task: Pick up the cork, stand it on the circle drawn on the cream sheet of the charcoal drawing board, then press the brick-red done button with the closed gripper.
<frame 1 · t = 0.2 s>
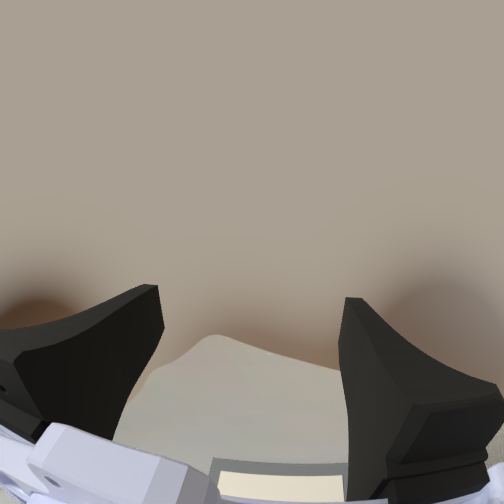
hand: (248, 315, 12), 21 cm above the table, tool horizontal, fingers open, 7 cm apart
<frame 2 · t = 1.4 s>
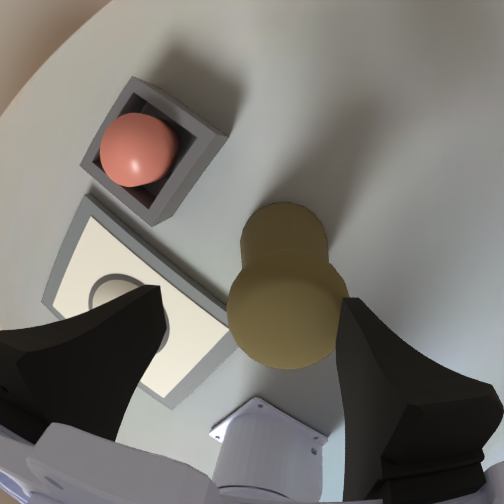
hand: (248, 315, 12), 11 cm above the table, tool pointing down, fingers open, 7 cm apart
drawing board: (131, 313, 26), on the table
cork: (283, 244, 22), on the table, touching gripper
button base: (162, 149, 21), on the table
done button: (139, 149, 18), point 3 cm above the table, slide at 0.0 cm
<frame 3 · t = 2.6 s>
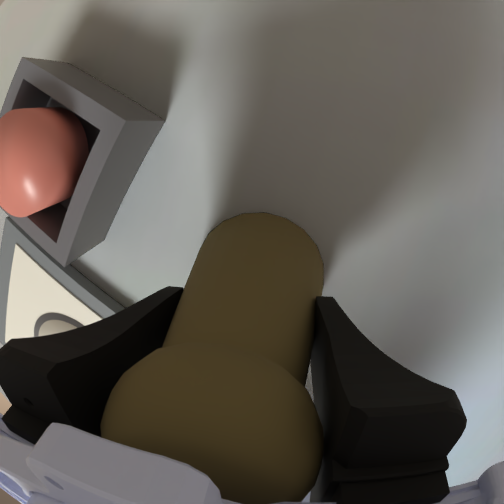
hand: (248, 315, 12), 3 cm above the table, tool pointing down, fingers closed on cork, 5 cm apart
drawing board: (82, 354, 19), on the table
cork: (259, 273, 15), on the table, touching gripper
button base: (81, 149, 14), on the table
done button: (34, 158, 11), point 3 cm above the table, slide at 0.0 cm
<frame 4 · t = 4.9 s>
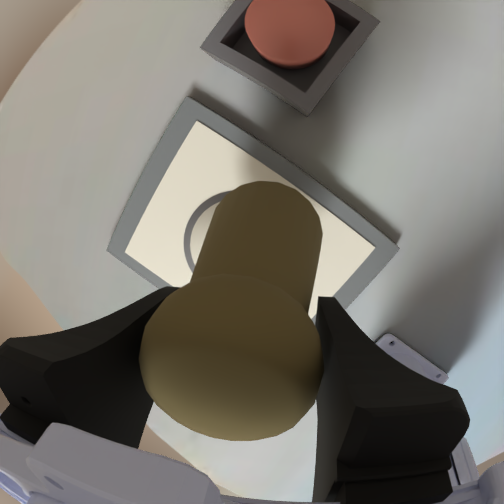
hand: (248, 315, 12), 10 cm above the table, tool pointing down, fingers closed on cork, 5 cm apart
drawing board: (243, 245, 22), on the table
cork: (265, 235, 17), point 4 cm above the table, touching gripper
button base: (291, 44, 17), on the table
done button: (290, 28, 13), point 4 cm above the table, slide at 0.0 cm
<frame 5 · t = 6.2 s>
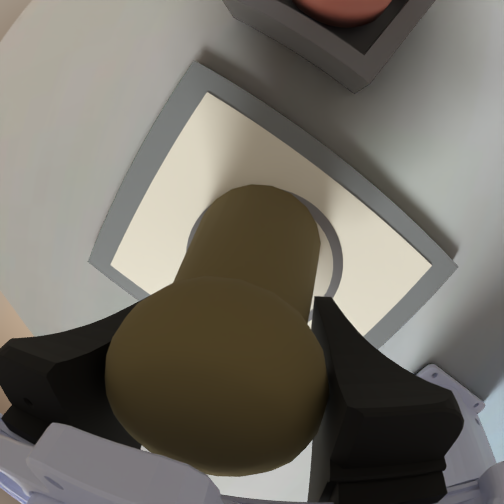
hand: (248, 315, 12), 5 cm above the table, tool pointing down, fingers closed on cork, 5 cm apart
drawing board: (264, 259, 17), on the table
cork: (258, 244, 16), point 1 cm above the table, touching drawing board, gripper
button base: (333, 3, 11), on the table
when the fingers open (5 cm above the table, at t = 6.6 s): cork stays where it is, resting on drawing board.
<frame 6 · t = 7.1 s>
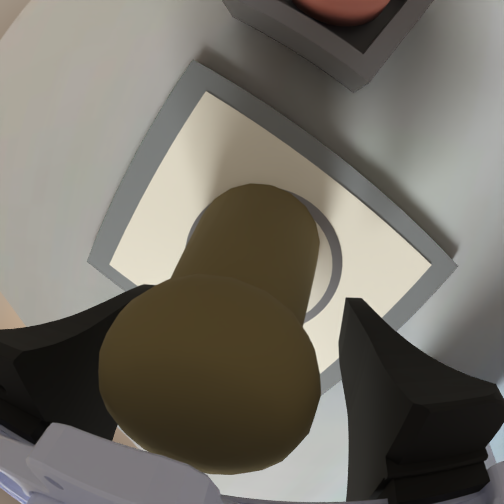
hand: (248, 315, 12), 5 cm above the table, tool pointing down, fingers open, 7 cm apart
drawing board: (263, 259, 17), on the table
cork: (257, 243, 16), point 1 cm above the table, touching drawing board
button base: (332, 2, 11), on the table
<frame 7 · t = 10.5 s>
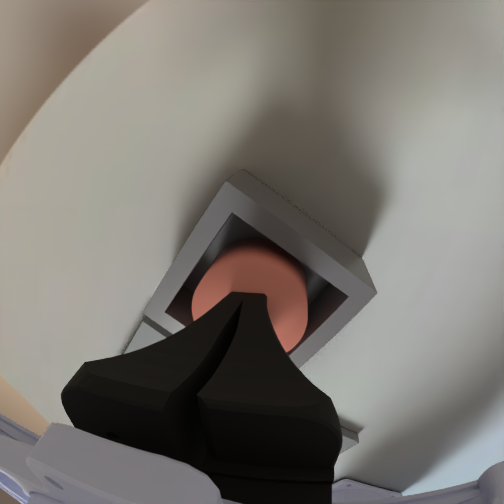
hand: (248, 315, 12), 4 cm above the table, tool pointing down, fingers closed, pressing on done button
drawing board: (214, 428, 21), on the table
button base: (261, 269, 16), on the table
done button: (253, 300, 13), point 3 cm above the table, slide at 0.5 cm, touching gripper
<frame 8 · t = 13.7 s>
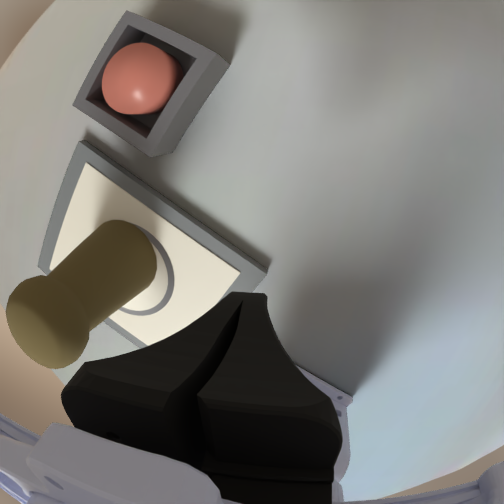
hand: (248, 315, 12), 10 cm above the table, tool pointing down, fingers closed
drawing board: (132, 266, 24), on the table
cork: (123, 256, 23), point 1 cm above the table, touching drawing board
button base: (159, 84, 19), on the table
done button: (142, 79, 16), point 3 cm above the table, slide at 0.9 cm
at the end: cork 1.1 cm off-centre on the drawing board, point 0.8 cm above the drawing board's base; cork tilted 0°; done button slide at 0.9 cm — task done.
